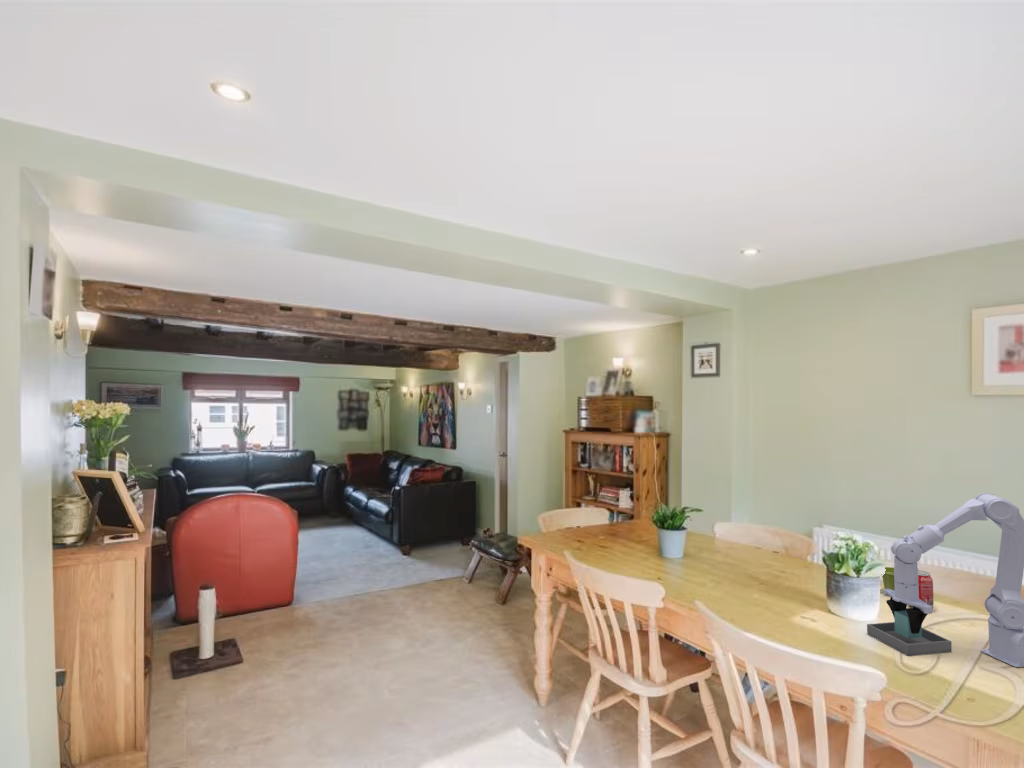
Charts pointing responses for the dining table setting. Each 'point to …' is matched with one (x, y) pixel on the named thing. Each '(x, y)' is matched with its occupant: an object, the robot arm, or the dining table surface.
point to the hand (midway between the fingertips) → (907, 629)
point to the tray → (909, 640)
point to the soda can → (925, 587)
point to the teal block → (904, 625)
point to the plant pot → (889, 578)
